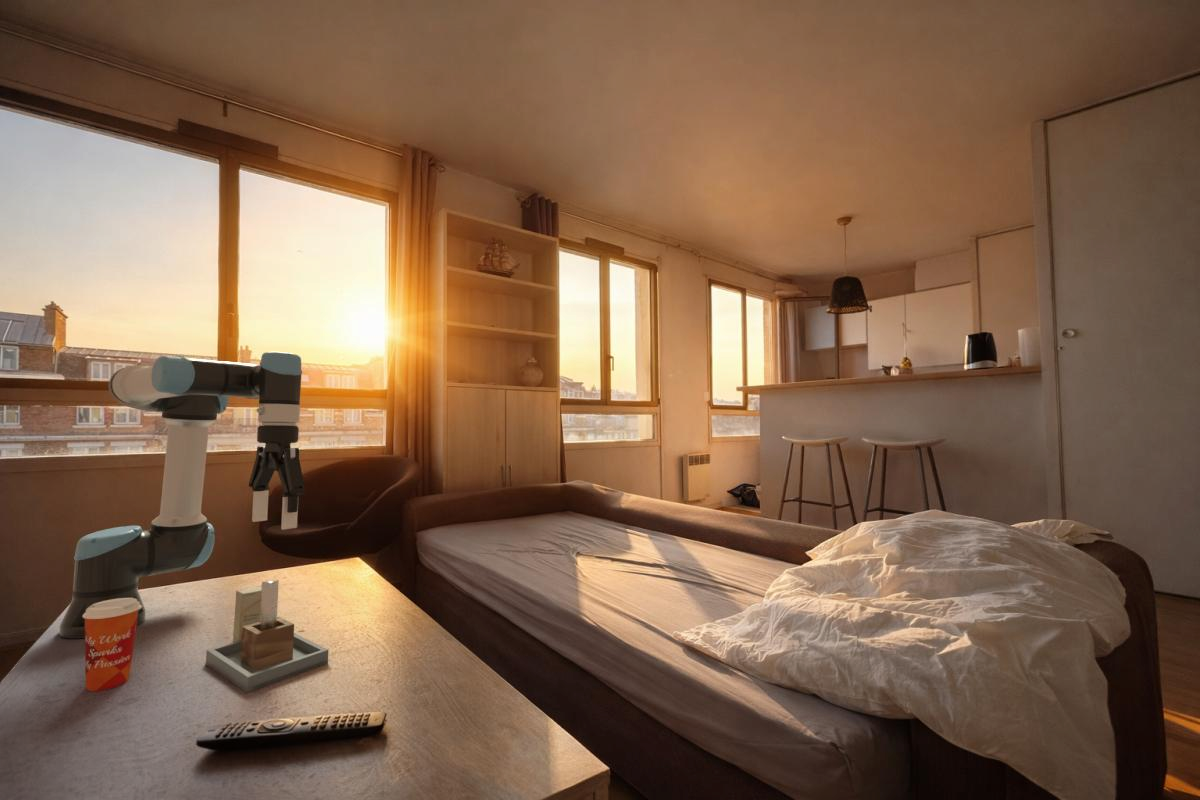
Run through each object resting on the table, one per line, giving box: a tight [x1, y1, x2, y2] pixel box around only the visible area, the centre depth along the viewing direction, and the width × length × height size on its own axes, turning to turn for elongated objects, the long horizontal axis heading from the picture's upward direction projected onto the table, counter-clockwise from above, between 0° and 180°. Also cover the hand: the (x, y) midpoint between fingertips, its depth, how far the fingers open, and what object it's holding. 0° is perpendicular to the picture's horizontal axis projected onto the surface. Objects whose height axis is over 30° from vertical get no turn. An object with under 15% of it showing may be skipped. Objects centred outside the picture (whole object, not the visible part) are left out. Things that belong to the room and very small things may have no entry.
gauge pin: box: [260, 579, 279, 631], centre depth 109 cm, size 3×3×14 cm
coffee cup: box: [82, 598, 142, 692], centre depth 99 cm, size 8×8×15 cm
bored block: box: [241, 616, 295, 670], centre depth 108 cm, size 7×7×7 cm
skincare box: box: [232, 585, 262, 642], centre depth 118 cm, size 6×4×12 cm
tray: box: [205, 632, 329, 694], centre depth 108 cm, size 20×15×3 cm
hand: (273, 524), depth 110 cm, fingers open, 13 cm apart
